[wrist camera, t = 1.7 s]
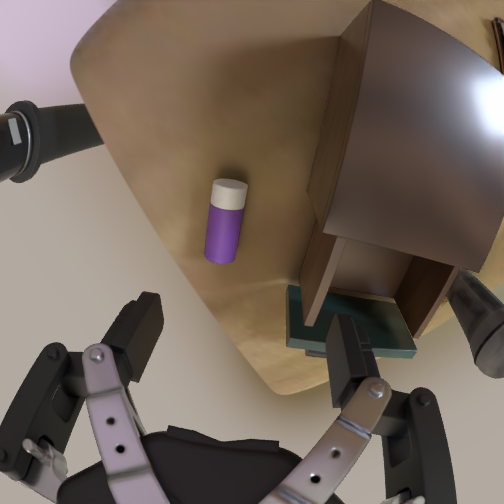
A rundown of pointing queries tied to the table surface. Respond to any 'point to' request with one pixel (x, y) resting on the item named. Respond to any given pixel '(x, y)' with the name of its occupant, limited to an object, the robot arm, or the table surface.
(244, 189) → the glue stick
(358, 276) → the drawer
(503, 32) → the mechanical keyboard
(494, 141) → the cabinet
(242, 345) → the table surface
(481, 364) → the beverage cup
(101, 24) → the table surface
